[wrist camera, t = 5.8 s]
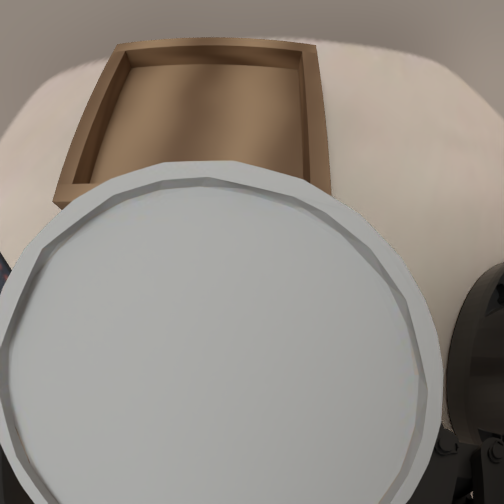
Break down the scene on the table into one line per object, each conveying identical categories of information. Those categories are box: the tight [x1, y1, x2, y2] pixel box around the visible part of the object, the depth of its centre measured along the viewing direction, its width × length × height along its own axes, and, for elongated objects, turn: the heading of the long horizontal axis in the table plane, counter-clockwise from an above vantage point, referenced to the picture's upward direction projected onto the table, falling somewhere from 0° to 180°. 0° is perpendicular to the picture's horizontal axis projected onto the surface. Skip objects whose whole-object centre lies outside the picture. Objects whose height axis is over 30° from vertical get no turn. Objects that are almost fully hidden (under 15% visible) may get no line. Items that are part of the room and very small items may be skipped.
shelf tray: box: [52, 38, 331, 210], centre depth 18 cm, size 14×13×4 cm
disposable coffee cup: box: [0, 161, 443, 504], centre depth 10 cm, size 10×10×12 cm
